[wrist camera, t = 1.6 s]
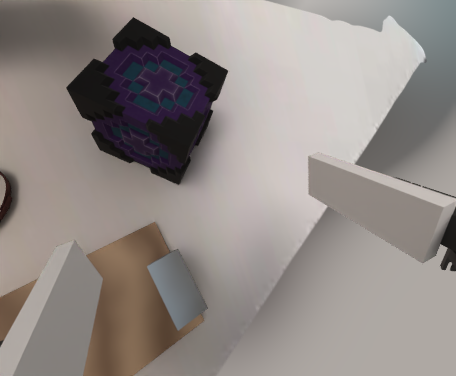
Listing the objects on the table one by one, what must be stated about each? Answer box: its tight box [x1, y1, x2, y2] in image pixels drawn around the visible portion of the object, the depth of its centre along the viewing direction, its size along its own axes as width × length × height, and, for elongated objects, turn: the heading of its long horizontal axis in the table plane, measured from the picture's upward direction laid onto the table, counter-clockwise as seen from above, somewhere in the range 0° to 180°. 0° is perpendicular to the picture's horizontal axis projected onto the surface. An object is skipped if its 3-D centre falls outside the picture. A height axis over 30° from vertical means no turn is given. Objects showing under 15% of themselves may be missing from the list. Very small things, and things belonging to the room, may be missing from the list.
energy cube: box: [66, 17, 228, 185], centre depth 27 cm, size 12×12×12 cm
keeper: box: [0, 222, 208, 376], centre depth 18 cm, size 20×14×13 cm
